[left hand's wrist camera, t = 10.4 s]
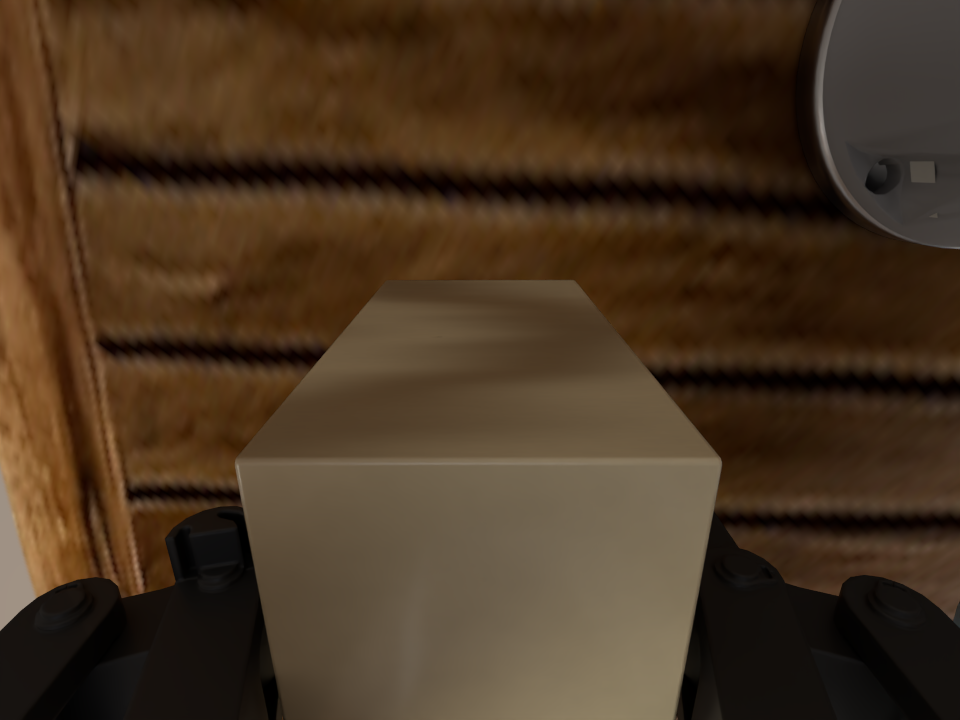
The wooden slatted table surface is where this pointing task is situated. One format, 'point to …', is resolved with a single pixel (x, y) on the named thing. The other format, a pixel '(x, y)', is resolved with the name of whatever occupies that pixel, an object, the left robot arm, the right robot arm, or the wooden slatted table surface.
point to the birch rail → (479, 515)
